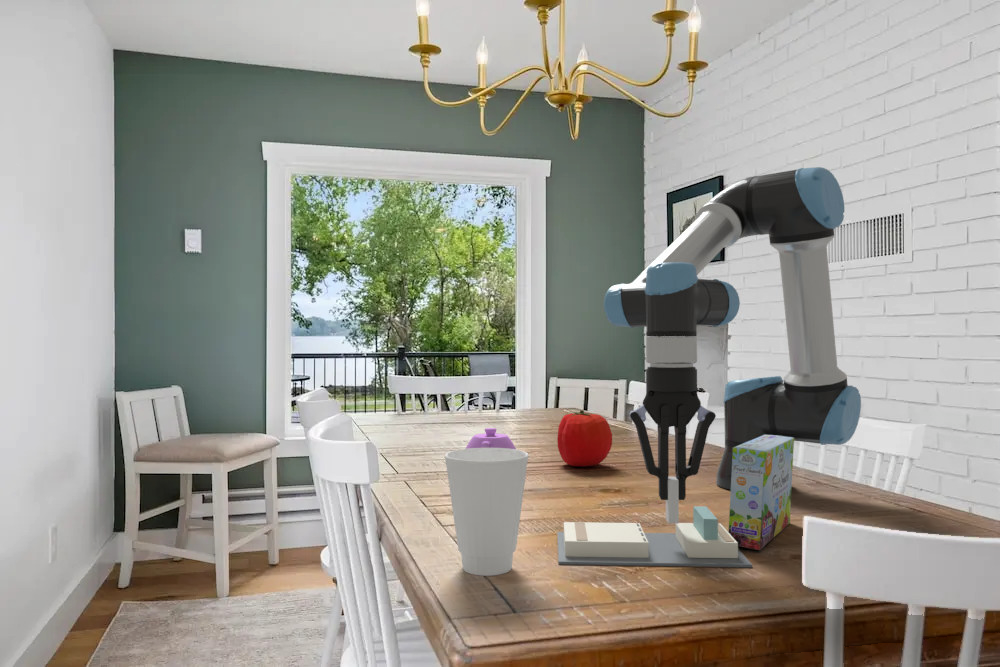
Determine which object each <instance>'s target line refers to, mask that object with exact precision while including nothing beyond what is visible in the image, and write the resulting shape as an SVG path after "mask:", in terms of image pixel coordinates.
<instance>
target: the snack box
mask: <svg viewBox="0 0 1000 667" xmlns="http://www.w3.org/2000/svg"><path fill="white" fill-rule="evenodd" d="M794 447H795V441H794V438H793V437H785V436H778V435H763V436H760V437H758V438H755V439H753V440H751V441H748V442H746V443H743V444H741V445H738V446H736V447H733V455H732V476H731V490H730V495H729V496H730V497H729V498H730V499H729V500H730V501H729V513H728V514H729V517H728V518H729V519H728V530H727V531H728V532H729V534H730V535H731V536H732V537H733V538H734V539H735V540H736V541H737V543H738V547H741V548H746V549H750V550H755V551H756V550H757V551H761V550H762V549H763V548H764V547H765V546H767V544H768V543H770V542H771V541H772V540H773V539H774V538H775V537H776V536H777V535H778V534H779V533H781V532H782V531H783V530H784V529H785V528H786V527H787V526H788V525H789V524H790V523H791V507H792V506H791V504H792V485H793V484H792V483H793V466H794V449H795V448H794Z"/></svg>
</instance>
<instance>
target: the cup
mask: <svg viewBox="0 0 1000 667" xmlns="http://www.w3.org/2000/svg"><path fill="white" fill-rule="evenodd" d="M529 456H530V455H529V453H528V452H526V451H524V450H520V449H517V448H516V449H507V448H469V449H466V448H462V449H454V450H451V451H448V452H446V453H445V455H444V460H445V464H446V465H445V466H446V472H447V473H446V474H447V480H448V485H449V486H448V487H449V493H450V501H451V508H452V515H453V521H454V522H453V523H454V528H455V535H456V543H457V550H458V551H459V553H460V555H461V556H460V557H461V564H462V570H463V572H465V573H467V574H470V575H475V576H483V577H484V576H485V577H486V576H498V575H503V574H506V573H508V572H510V571H511V570H512V568H513V557H514V553H515V552H516V549H517V544H518V535H519V527H520V520H521V513H522V508H523V507H522V506H523V498H524V491H525V483H526V478H527V477H526V474H527V467H528V461H529V458H530V457H529Z"/></svg>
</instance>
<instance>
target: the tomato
mask: <svg viewBox="0 0 1000 667" xmlns="http://www.w3.org/2000/svg"><path fill="white" fill-rule="evenodd" d="M566 411H568V412H570V413H569V414H565V415H563V417H562V418H561V420H560V422H559V425H558V430H557V438H556V439H557V449H558V452H559V456H560V457H561V459H562V461H563V462H564V463H565V464H567V465H568V466H572V467H584V468H585V467H586V468H587V467H593V466H597V465H599V464H601V462H603V461H604V460H605V459H606V458H607V457H608V455H609V453H610V451H611V450H612V446H613V433H612V430H611V427H610V425H609V422H608V420H607V419H606V418H605V417H604V416H602V415H601V414H598V413H591V412H585V410H584V409H580V410H579V411H578V412H577V411H571V410H567V409H566Z"/></svg>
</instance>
